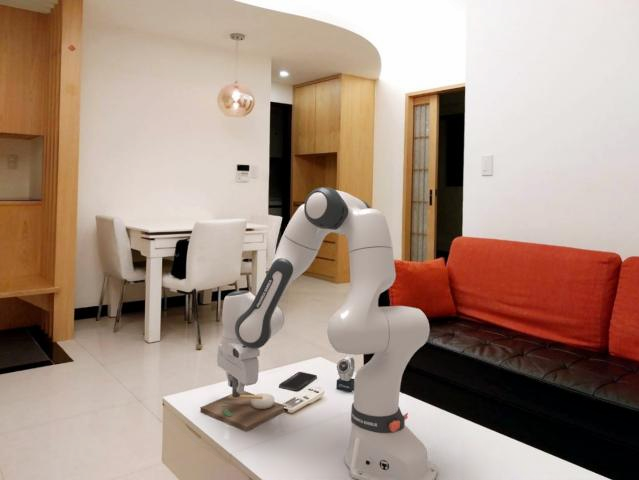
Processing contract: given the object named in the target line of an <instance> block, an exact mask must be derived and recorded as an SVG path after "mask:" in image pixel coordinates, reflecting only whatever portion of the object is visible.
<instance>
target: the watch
mask: <svg viewBox="0 0 639 480" xmlns="http://www.w3.org/2000/svg"><path fill="white" fill-rule="evenodd" d="M355 367H356V364H355V358H354V357H352V356H347V355H345V356H344V357H342V358H341V359H340V360H338V362H337V364H336V370H337V375H338V376H339V378H338V379H336V388H335V390H339V391H342V392H347V393H353V392H354V379H355V378H352V377H353V376H354V375H355V374H354V372H355ZM352 391H353V392H352Z"/></svg>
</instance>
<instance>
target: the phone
mask: <svg viewBox="0 0 639 480" xmlns="http://www.w3.org/2000/svg"><path fill="white" fill-rule="evenodd" d="M317 378H318V375H316V374H314V373H309V372H303V371H298V372H296V373H295V374H293V375H291V376H289V378H286V379H285V380H284V381H282V382H281V383H279V386H278V388H279V389H283V390H288V391H291V392H296V393H297V392H300V391H302V390H303V389H304V388H305V387H307V386H309V385H310V384H311V383H313V382H314V381H316V380H317Z"/></svg>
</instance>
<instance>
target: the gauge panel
mask: <svg viewBox="0 0 639 480" xmlns="http://www.w3.org/2000/svg"><path fill="white" fill-rule="evenodd" d="M230 395H232V393H230V394H229V395H226V396H223V397H221V398H219V399H216V400H213V401H212V402H210V403H207V404H205V405H203V406H201V407H200V413H202V414H204V415H206V416H209V417H211V418H213V419H216V420H218V421H220V422H223V423H225V424H228V425H230V426H232V427H235V428H236V429H239V430H242V431H244V432H245V433H246V432H248V431H251V430H253V429H254V428H256V427H258V426H259V425H262V424H264V423H266V422H268V421H270V420H272V419H274V418H275V417H277V416H278V415H280V414H282V413H285V412H284V407H286V408H287V405H285V404H281V403H279V402H277V401H274V405H273V406H272V407H270V408H267V409H257V408H254V407H252V406H251V399H241V398H229V396H230ZM240 395H256V394H255V393H251V392H249V391H246V390H244V393H241V394H240Z"/></svg>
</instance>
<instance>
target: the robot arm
mask: <svg viewBox="0 0 639 480" xmlns="http://www.w3.org/2000/svg"><path fill="white" fill-rule="evenodd" d="M330 233H334V234H338V235H343V236H345V237H346V240H347V246H348V256H349V257H348V258H349V259H348V260H349V272H350V275H349V278H350V279H349V280H350V281H349V282H350V283H349V288H348V289H349V290H348V293H347V296H346V298H345V300H344V302H343V304H341V307H339V308H338V310H337V311H335V312H334V313H333V314H332V316H331V317H330V319H329V321H328V323H327V328H326V329H327V331H326V333H327V339H328V342H329V344H330V345H331V348H333V349H334V351H336V352H337V353H339V354H340V353H341V354H346V355H356V356H358V355H370V354H371V355H372V354H373V356H372V357H371V358H370V360H369V361H368V362H367V363H365V364H363V365H362V366H360V368H358V370H357V371H356V373H355V374H354V375H355V376H354V378H353V379H354V391H353V402H352V404H351V412H350V413H351V414H350V421H351V431H350V436H349V437H350V438H349V442H348V446H347V449H346V450H347V451H346V453H345V456H344V462H345V464H346V466H347V467H348V469H349V475H350V477H351V478H353V479H355V480H436V478H437V477H438V469H437V466H436V464H434V463H433V462H431V461H429V457H428V453H427V452H428V451H427V448H426V446H425V444H424V443H423V442H422V440H420V439H419V438H418V437H417V435H415V433H414V432H413V431H411V430H410V428H409V427H408V426H407V425H406V424H405V421H406V420H407V419H408V418H409V416H408V415H409V412H407V413H405V414H403V413H402V411H401V409H400V406H399V405H400V392H401V385H402V384H401V383H402V378H403V374H404V371H405V370H406V367H407V365H408V363H409V362H410V360H411V358H412V357H413V356H414V354H415V353H416V352H417V351H418V350H419V349H420V348H422V347H423V346H424V345H425V344H426V343H427V341H428V338H429V335H430V330H431V329H430V323H429V319H428V318H427V316H426V314H425V313H424V312H423V311H422V310H421V309H419V308H418V307H417V308H416V307H412V306H405V305H393V306H392V305H391V306H379V298H380V295H381V294H382V293H384V292H385V291H387V290H389V288H391V287H392V286H393V284H394V282H395V281H396V277H397V274H396V273H397V272H396V267H395V266H396V265H395V258H394V249H393V242H392V241H393V240H392V236H391V233H390V228H389V224H388V221H387V218H386V216H385V214H384V213H383V212H382V211H380V210H379V209H375V208H372V207H371V206H370V204H368V202H366V201H365V200H363V199H362V198H359V197H358V198H357V197H356V196H353V195H352V194H350V193H348V192H346V191H342V190H339V189H338V190H337V189H334V188H332V187H318V188H314V189H313V190H312V191H311V192H310V193H309V194H308V195H307V197H306V199H305V202H304V203H303V204H301V205H300V206H299V207H298V208H297V209H296V210H295V212H294V214H293V215H292V216H291V219H290V220H289V221H288V224H287V226H286V227H285V230H284V231H283V234H282V236H281V238H280V241H279V243H278V245H277V248H276V251H275V254H274V257H273V259H272V261H271V264H270V267H269V269H268V272H267V273H266V275H265V277H264V280H263V281H262V283H261V285H260V288H259V289H258V291H257V293H256V295H254V294H253V293H252V292H251V291H249V290H244V289H243V290H237V291H232V292H229V293H228V294H226V296H225V297H224V299H223V303H222V316H221V322H222V332H221V340H220V343H219V345H218V347H217V353H216V354H217V355H216V363H217V367H219V368H221V369H222V370H224V371H225V374H226V379H227V386H228V387H230V388H232V377H235V378H236V379H237V380H238V383H239V384H238V386H237V387H236V389H237V390H236V391H237V392H238V393H239V394H241V393H244V391H245V386H247V387H248V386H253V385H256V384H257V382H258V380H259V372H260V371H259V366H260V365H259V363H260V362H259V358H258V357H260V355H261V354H260V352H261V350H260V348H262V347H263V346H265V345H266V344H267V342H268V341H269V340H270V339H271V338H272V337H274V336H275V335H276V334H277V333H278V332H279V331H280V330H281V329H282V328H283V327H284V324H285V316H284V313H283V310H281V308H280V307H279V303H280V301H281V300H282V298H283V296H284V293H285V292H286V290H287V288H288V287H290V285H291V283H293V282H294V281H295V280H296V279H297V278H299V277H300V276H301V275H303V273H304V272H306V271H307V270H308V269H309V268H310V266H311V265H312V263H313V262H314V260H315V258H316V257H317V255H318V253H319V250H320V248H321V246H322V244H323V242H324V239H325V238H326V236H327V235H329V234H330Z"/></svg>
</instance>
